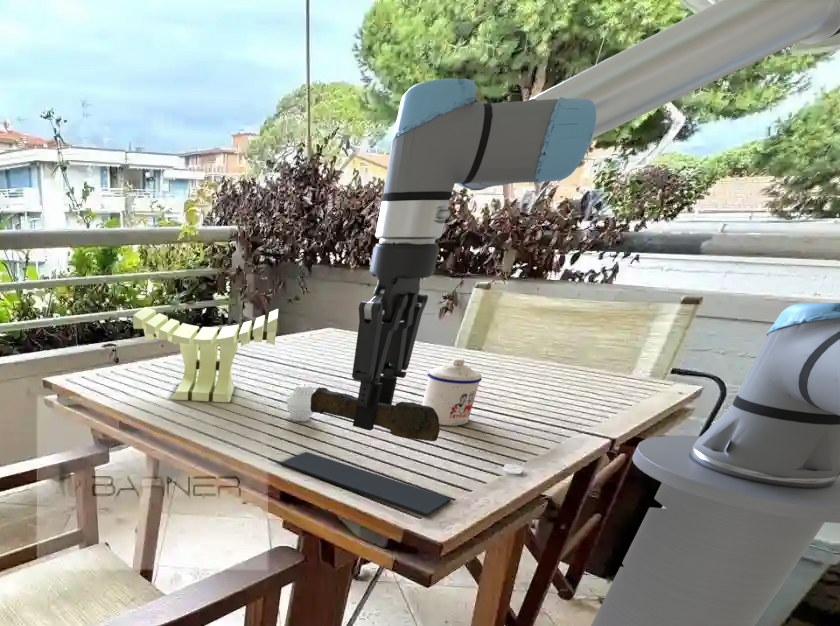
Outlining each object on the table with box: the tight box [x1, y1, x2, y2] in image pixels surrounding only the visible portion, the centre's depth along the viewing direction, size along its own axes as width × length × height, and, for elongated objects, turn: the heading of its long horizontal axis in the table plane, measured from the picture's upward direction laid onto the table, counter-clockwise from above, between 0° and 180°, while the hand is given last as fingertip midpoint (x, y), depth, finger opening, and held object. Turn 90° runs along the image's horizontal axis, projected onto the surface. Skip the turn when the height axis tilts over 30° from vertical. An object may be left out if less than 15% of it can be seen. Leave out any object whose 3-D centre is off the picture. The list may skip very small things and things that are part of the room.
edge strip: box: [280, 451, 452, 517], centre depth 83 cm, size 24×7×1 cm, turn 40°
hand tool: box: [310, 386, 441, 442], centre depth 77 cm, size 19×4×5 cm, turn 36°
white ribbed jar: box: [286, 383, 315, 422], centre depth 108 cm, size 6×6×7 cm
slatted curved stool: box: [132, 306, 279, 403], centre depth 124 cm, size 30×16×18 cm, turn 77°
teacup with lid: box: [421, 358, 483, 427], centre depth 106 cm, size 12×9×12 cm
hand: (370, 424), depth 79 cm, fingers closed on hand tool, 3 cm apart
